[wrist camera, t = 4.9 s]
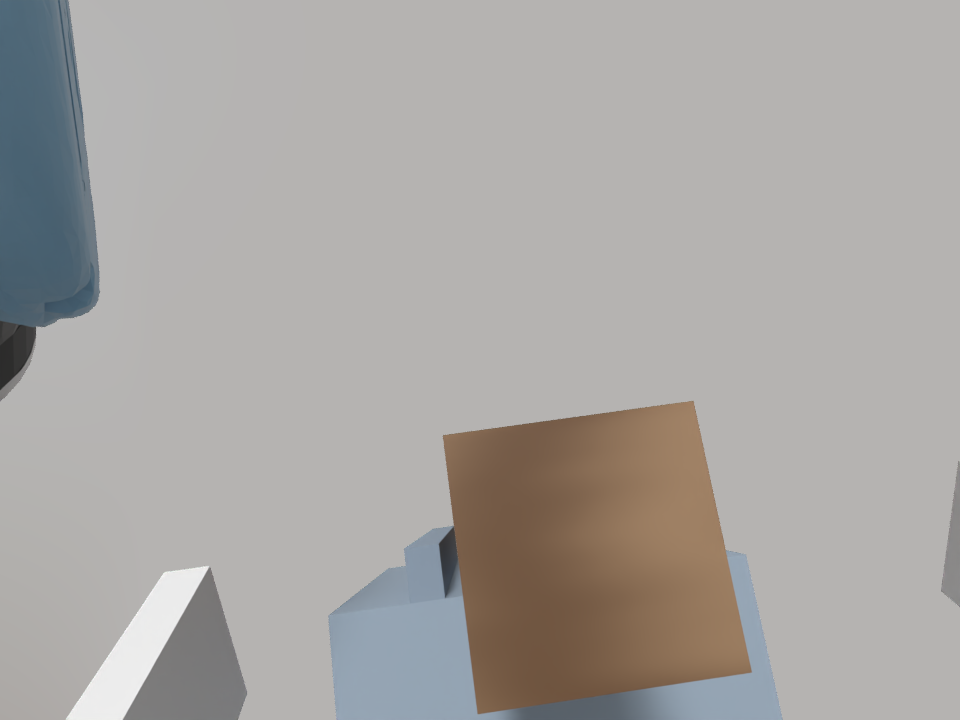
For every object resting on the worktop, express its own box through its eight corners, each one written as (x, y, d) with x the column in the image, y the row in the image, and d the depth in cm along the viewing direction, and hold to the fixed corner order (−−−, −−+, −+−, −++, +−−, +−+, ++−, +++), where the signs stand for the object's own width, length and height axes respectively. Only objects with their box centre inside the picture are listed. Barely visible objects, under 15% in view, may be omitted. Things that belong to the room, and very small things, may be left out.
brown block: (477, 713, 8) (442, 435, 8) (478, 551, 31) (469, 481, 32) (752, 672, 8) (693, 401, 9) (547, 541, 31) (536, 472, 32)
